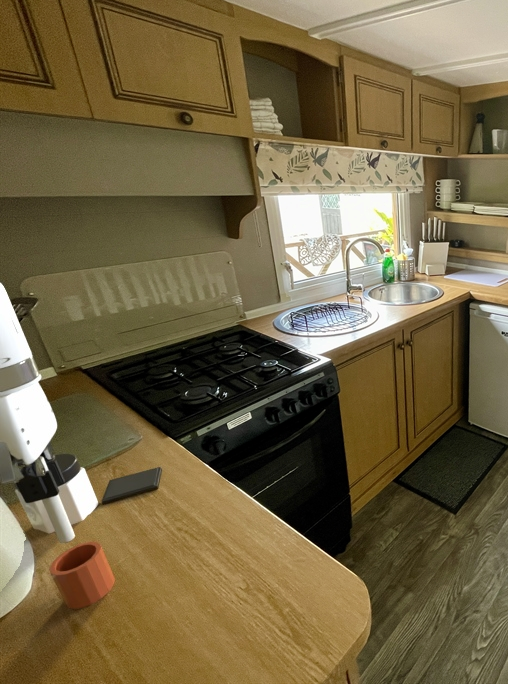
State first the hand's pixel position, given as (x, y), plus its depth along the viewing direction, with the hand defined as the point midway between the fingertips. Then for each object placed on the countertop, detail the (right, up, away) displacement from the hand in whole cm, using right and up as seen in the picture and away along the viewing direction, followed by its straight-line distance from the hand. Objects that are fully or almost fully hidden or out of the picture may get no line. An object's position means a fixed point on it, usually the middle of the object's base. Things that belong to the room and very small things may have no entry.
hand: (46, 492), depth 52 cm
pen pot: (-1, -20, +7) cm, 21 cm away
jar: (-19, -14, +21) cm, 32 cm away
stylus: (0, -9, +3) cm, 9 cm away
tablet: (-13, -11, +29) cm, 33 cm away
